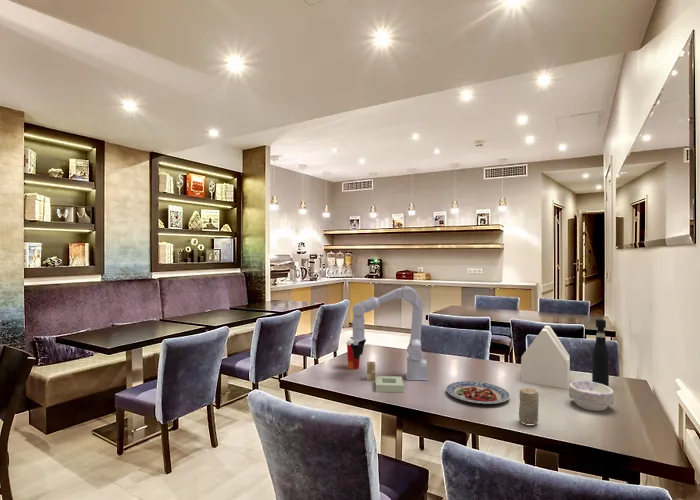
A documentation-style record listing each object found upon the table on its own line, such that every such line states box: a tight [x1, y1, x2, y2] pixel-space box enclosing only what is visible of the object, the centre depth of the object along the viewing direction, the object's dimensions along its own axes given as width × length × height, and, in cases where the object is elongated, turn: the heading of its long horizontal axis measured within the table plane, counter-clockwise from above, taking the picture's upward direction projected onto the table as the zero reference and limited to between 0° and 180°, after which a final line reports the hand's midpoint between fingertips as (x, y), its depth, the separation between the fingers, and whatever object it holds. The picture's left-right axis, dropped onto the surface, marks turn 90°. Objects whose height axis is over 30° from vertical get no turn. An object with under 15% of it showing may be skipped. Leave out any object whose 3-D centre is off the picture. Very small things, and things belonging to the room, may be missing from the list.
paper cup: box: [345, 339, 360, 371], centre depth 207 cm, size 8×8×14 cm
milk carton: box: [520, 325, 571, 390], centre depth 189 cm, size 19×15×25 cm
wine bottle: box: [591, 319, 610, 387], centre depth 182 cm, size 6×6×30 cm
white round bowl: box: [568, 380, 615, 412], centre depth 158 cm, size 15×15×8 cm
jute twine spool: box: [518, 387, 540, 425], centre depth 142 cm, size 6×8×12 cm
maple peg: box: [366, 361, 376, 382], centre depth 189 cm, size 4×4×8 cm
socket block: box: [374, 375, 405, 393], centre depth 178 cm, size 12×12×3 cm
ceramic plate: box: [445, 380, 511, 405], centre depth 169 cm, size 26×26×3 cm
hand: (358, 356), depth 192 cm, fingers open, 7 cm apart
